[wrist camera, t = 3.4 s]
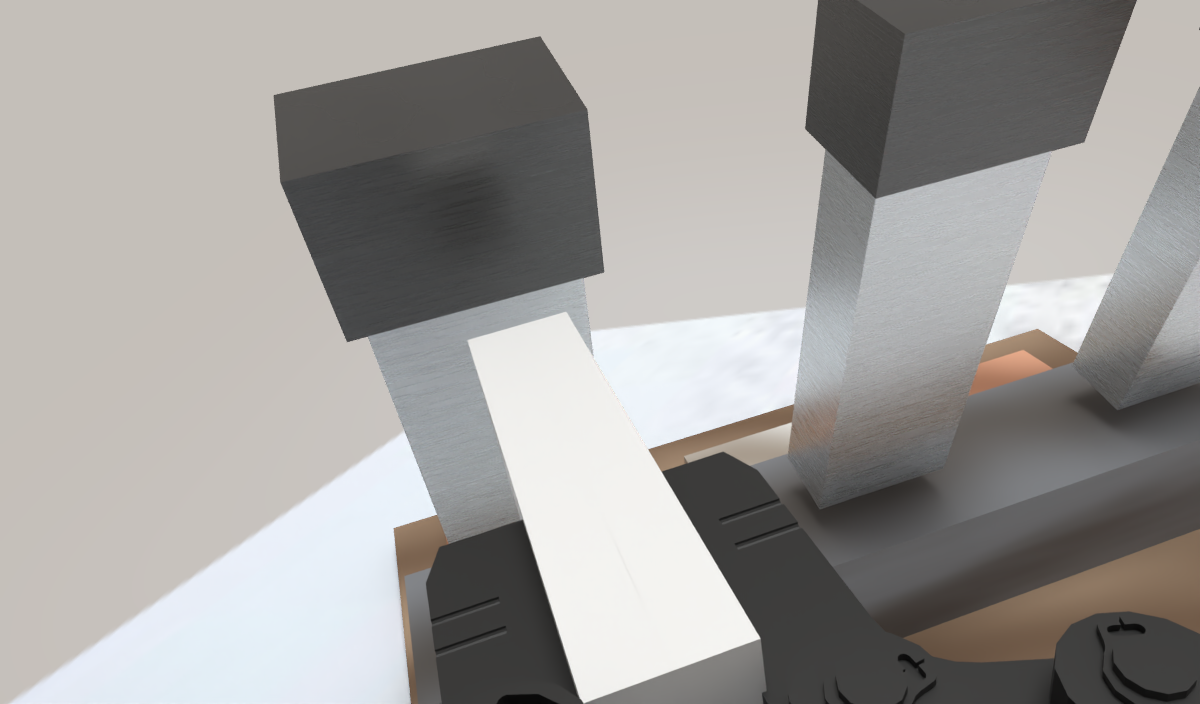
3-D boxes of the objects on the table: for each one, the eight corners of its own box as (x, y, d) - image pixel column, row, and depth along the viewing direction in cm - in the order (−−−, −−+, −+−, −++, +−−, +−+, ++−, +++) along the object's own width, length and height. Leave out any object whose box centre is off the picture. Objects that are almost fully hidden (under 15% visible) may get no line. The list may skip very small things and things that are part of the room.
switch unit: (1412, 582, 25) (1472, 453, 23) (446, 968, 21) (387, 858, 18) (1035, 347, 39) (1047, 249, 36) (400, 546, 34) (363, 449, 32)
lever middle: (960, 475, 24) (1145, -24, 14) (817, 524, 24) (904, 34, 13) (906, 408, 26) (1036, -73, 16) (772, 450, 25) (821, -26, 15)
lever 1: (636, 584, 23) (587, 109, 13) (471, 640, 22) (280, 182, 12) (604, 504, 25) (540, 36, 15) (452, 552, 24) (273, 94, 14)
